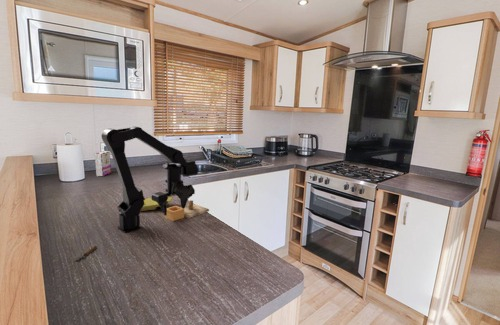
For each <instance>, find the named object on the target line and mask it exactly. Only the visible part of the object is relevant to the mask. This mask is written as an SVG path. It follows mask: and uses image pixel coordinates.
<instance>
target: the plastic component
mask: <svg viewBox="0 0 500 325" xmlns="http://www.w3.org/2000/svg"><path fill="white" fill-rule="evenodd" d="M172 200H173V196H172V197H168V199H167V201H168V203H167V205H168V204H169V203H171V201H172ZM157 207H158V208H159V207H160V206H159V204H158V203H157V202H155V201H153V200H152V197H150V198H149V197H148V198H145V200H144V205H143V207H142V208H141V210H140V212H143V211H151V210H156V209H157ZM160 208H161V207H160Z"/></svg>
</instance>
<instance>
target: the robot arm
mask: <svg viewBox="0 0 500 325" xmlns="http://www.w3.org/2000/svg"><path fill="white" fill-rule="evenodd" d="M100 136H101V139H102V141H103V144H104V145H105V147H106V148H107V150H108V151H110V155H111V156H112V160H113V162H114V165H115V168H116V171H117V174H118V177H119V180H120V183H121V186H122V202H120V204H119V205H118V206H117V207H116V208H117V210H118V211H119V214H118V218H119V220H118V221H119V226H117V229H119V230H120V231H122V232H123V233H130V232H133V231H135V230H139V229H141V228H142V226H141V219H140V218H141V216H140V213H141V211H140V210H141V208H142V207H143V205H144V200H145V199H146V198H145V197H144V193H143V192H144V191H143V190H142V189H141V188H139V187H136V184H135V182H134V178H133V175H132V172H131V169H130V165H129V163H128V159H127V156H126V153H125V150H126V143H125V142H128V141H131V140H134V139H137V140H138V141H140V142H141V143H143V144H145V145H147V146H148V147H150V148H152V149H153V150H154V151H156V152H158V153H159V154H160V156H162V157H163V158H164V159H165V161H167V162H165V164H163V165H162V166H161V168H162V169H164V170H166V178H167V179H165V182H164V183H166V185H167V186H166V189H165V192H162V191H159V192H153V193H152V195H151V198H152V200H153V201H155V202H157V203H158V204H159V206H160V210H161V211H162V213H163V215H164V217H165V216H166V215H167V208H168V204H169V203H168V201H167V199H168V197H172V198H173V197H175V196H177V198H178V199H179V200H180V207H181V208H185V206H186V205H187V202H188V201H189V199H190V198H191V197H192V196H193V195H195V194H196V193H195V192H196V190H195V188H194V187H193V186H194V185H192V184H188V185H184V180H183V179H182V177H184V178H185V177H193V176H197V175H198V173H199V168H198V165H197V163H196V160H192V159H191V160H188V161H187V160H186V158H185V157H184V154H183V151H181V150H179V149H177V148H175V147H172V146H170V145H167V144H165V143H164V142H162V141H161V140H159V139H157V138H156V137H154V136H153V135H151V134H150V133H148V132H147V131H145V130H144V129H142V127H140V126H132V127H127V128H119V129H115V128H106V129H105V130H103V131H102V133H101V135H100ZM169 162H170V163H169ZM177 164H178V165H177ZM167 203H168V204H167Z"/></svg>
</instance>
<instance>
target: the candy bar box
mask: <svg viewBox="0 0 500 325" xmlns="http://www.w3.org/2000/svg"><path fill="white" fill-rule="evenodd" d="M94 159H95V160H94V162H95V173H96V174H95V175H96V177H98V176H103V177H105V175H106V176H107V174H108V175H111V174H112V167H111V166H112V165H111V153H110V151H109V150H108V151H107V150H103V151H99V152H95V153H94ZM110 173H111V174H110Z"/></svg>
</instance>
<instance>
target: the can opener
mask: <svg viewBox="0 0 500 325" xmlns="http://www.w3.org/2000/svg"><path fill="white" fill-rule="evenodd" d="M97 249H98V247H97V246H96V245H95V246H92V247H90V249H89V250H87V251H86V252H85V253H83V254H82V256H79V257H77V258H76V259H74V261H73V263H75V262H77V263H78V262H79V261H81V260H82V259H85V258H86V257H87V256H88V255H90V254H91V253H93V252H94V251H96V250H97Z"/></svg>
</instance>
